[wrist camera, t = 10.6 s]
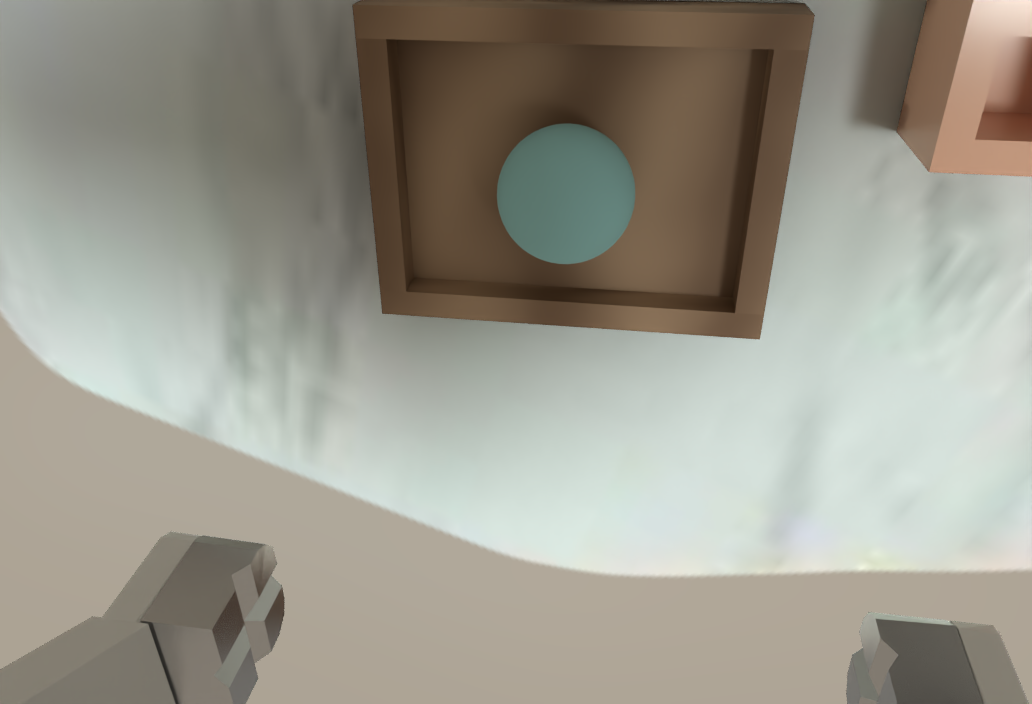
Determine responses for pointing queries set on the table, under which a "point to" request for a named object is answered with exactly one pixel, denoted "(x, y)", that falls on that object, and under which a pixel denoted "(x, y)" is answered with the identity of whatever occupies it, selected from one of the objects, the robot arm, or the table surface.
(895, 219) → the table surface
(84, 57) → the table surface
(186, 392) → the table surface
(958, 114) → the square socket block
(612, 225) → the ball
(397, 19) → the tray
